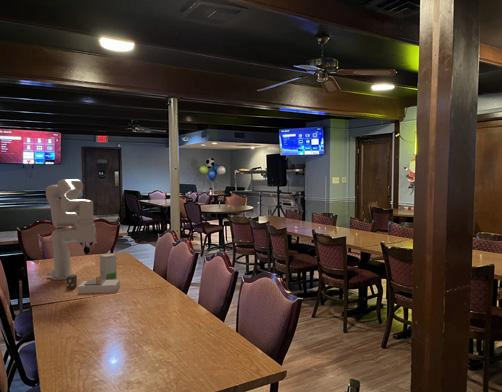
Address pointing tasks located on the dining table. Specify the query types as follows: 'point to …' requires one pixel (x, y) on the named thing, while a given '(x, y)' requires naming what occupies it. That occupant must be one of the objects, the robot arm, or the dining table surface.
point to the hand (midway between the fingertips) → (86, 253)
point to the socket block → (99, 287)
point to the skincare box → (108, 266)
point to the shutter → (95, 281)
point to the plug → (71, 281)
